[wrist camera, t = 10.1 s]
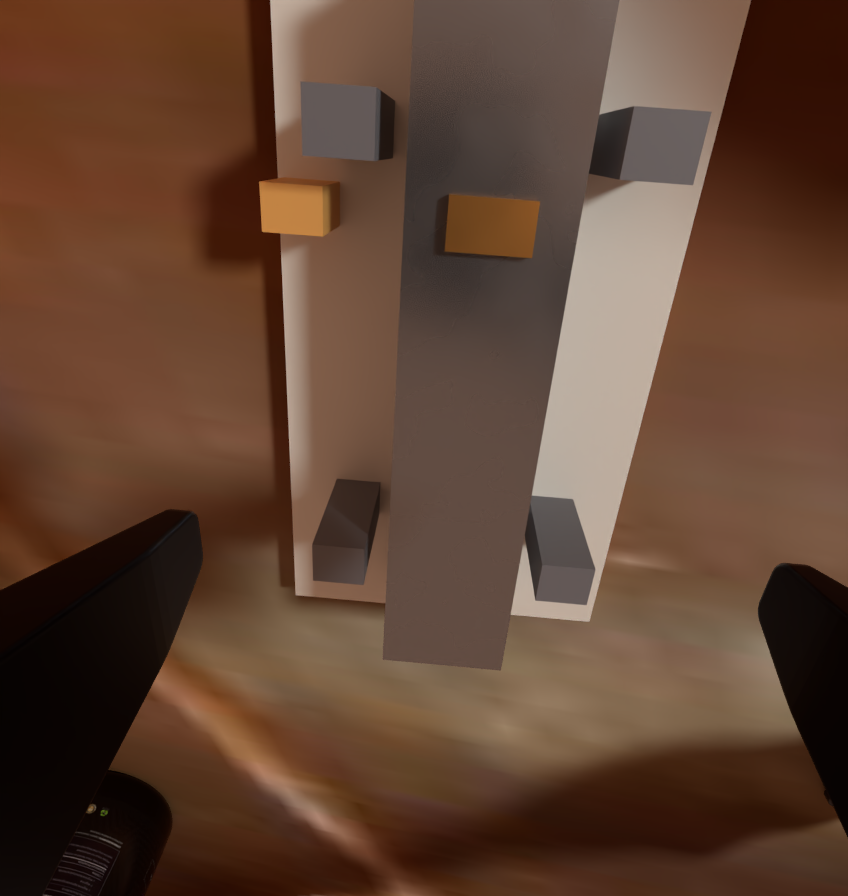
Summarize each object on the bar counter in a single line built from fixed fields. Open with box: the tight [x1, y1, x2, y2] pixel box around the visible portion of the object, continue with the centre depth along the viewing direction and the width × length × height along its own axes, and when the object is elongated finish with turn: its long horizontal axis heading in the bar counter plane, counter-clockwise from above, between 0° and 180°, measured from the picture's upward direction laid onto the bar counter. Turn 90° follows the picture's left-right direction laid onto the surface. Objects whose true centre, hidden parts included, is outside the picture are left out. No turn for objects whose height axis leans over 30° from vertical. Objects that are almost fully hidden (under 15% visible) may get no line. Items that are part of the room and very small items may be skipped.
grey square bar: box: [383, 0, 619, 670], centre depth 17 cm, size 20×4×4 cm, turn 176°
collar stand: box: [259, 0, 751, 622], centre depth 18 cm, size 22×12×5 cm, turn 176°
